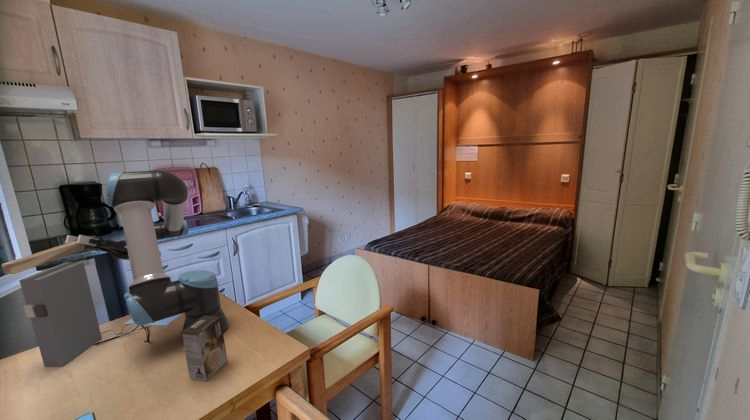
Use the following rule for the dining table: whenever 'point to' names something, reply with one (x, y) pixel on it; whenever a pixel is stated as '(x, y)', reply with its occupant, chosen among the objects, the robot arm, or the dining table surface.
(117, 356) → the dining table surface
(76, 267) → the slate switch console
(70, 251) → the wooden bar
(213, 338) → the coffee box
